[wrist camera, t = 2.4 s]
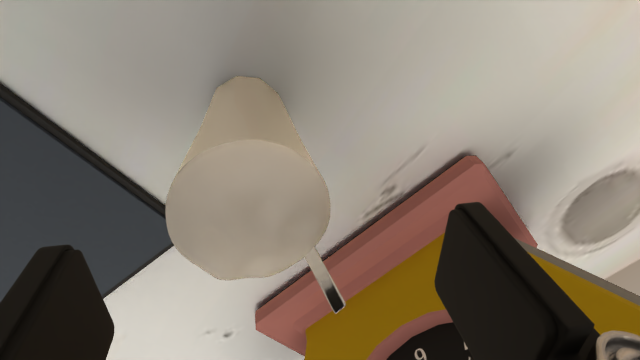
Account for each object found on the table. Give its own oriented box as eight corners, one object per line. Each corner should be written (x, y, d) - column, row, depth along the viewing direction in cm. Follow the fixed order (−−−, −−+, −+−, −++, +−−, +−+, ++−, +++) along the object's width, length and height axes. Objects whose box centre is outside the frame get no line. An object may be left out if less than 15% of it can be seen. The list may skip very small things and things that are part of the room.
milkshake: (266, 178, 19) (286, 354, 11) (174, 115, 17) (110, 284, 8) (327, 115, 18) (401, 260, 10) (238, 36, 16) (236, 144, 7)
